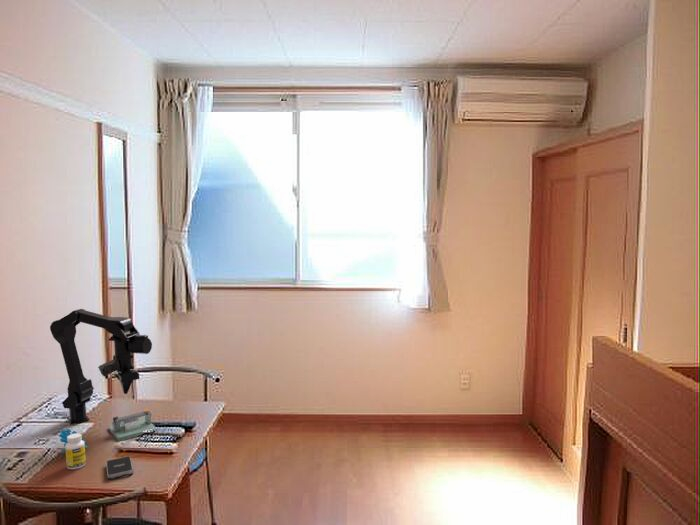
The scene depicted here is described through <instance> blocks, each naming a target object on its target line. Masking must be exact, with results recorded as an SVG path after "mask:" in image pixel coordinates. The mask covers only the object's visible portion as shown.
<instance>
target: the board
mask: <svg viewBox="0 0 700 525" xmlns="http://www.w3.org/2000/svg"><path fill="white" fill-rule="evenodd" d="M138 419H139V420H140V428H138V429H134V430H130V431H125V430H124V429H123V428H122V427H121V424H120V429H121V431H119V432H114V431H113V427H112V424H110V425H108V430H109V431H110V433H111V434H112V436H114V437H115V439H116V440H117V441H118V442H120V441H124V440H128V439H132V438H136V437H139V435H140V436H142V435H141V434H142V433H143V431H145V430H146V429H153V428H156V429H157V427H156V426H155V425H154V424H153V423H152V422H151V424H147V423H146V422H145V416H142V417H138Z"/></svg>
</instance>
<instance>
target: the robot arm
mask: <svg viewBox="0 0 700 525" xmlns="http://www.w3.org/2000/svg"><path fill="white" fill-rule="evenodd" d="M81 323H82V324H87V325H90V326H94V327H97V328H101V329H104V330H105V331H106V332H107V333H108V334H111V336H110V337H109V338H108V341H109V342H113V344H114V347H113V348H114V354H113V356H112V359H111V360H108V361H107V362H105V363H102V364H101V365H99V366H98V370H99V371H100V374H101V376H102V377H103V378H105V377H107V376H109V375H110V374H112V373H114V372H115V373H114V377H115V378H116V379H117V380H119V383H120V387H121V388H122V392H123V394H124V395H127V394H128V392H129V390H130V389H131V387H132V386H131V385H132V383H133V382H134V381H136V380H139V379H140V373H139V371H136V369H135V366H134V365H133V358H134V354H140V355H141V354H142V355H147V354H148V355H149V354H150V352H151V351H152V348H153V343H152V340H151V338H149V335H148V334H140V331H139V330H138V328H136V326H135V325H134V324H133V321H132V319H131V318H129V317H125V316H109V315H108V316H107V315H104V314H100V313H96V312H94V311H93V312H92V311H88V310H86V309H84V308H79V309H76V310H72V311H71V312H70V313H68V314H67V315H65V316H64V317H61V318H60V319H57V320H54V321H52V322H51V324H50V326H49V330H50V332H51V335H52V338H53V339H54V340H55V341H56V342H57V343H58V344H59V346H60V349H61V353H62V357H63V360H64V364H65V368H66V372H67V377H68V379H69V382H68V385H67V395H68V396H67V397H66V398H65V399H64V401H62V407H63V408H64V409H68V411H69V417H68V418H67V421H68V420H69V421H68V423H69V422H70V423H69V425H74V424H73V423H75V424H80V423H83V422H88V421H90V418H89V416H88V415H87V404H86V403H88V402H90V401H91V398H92V396H93V394H94V389H95V388H94V386H93V382H92V381H93V380H92V379H91V378H90V379H87V378H86V376H85V375H84V372H83V368H82V365H81V362H80V361H81V360H80V357H79V353H78V349H77V346H76V341H75V338H76V334H77V326H78V325H79V324H81Z"/></svg>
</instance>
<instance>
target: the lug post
mask: <svg viewBox="0 0 700 525" xmlns="http://www.w3.org/2000/svg"><path fill="white" fill-rule="evenodd" d="M144 417H145V422H146V423H147V424H151V423H152V418H151V417H152V413H151V412H150V411H149V413H147V415H146V416H144Z"/></svg>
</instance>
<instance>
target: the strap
mask: <svg viewBox="0 0 700 525" xmlns="http://www.w3.org/2000/svg"><path fill="white" fill-rule="evenodd" d="M147 413H150V410H149V409H148V408H144V409H143V411H140V412H136V413H133V414H129V415H124V416H121V417H118V418H117V419H116V420H119V419H120V420H121V422H123V421H127V420H131V419H134V418H142V417H145V416H146V415H147Z"/></svg>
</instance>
